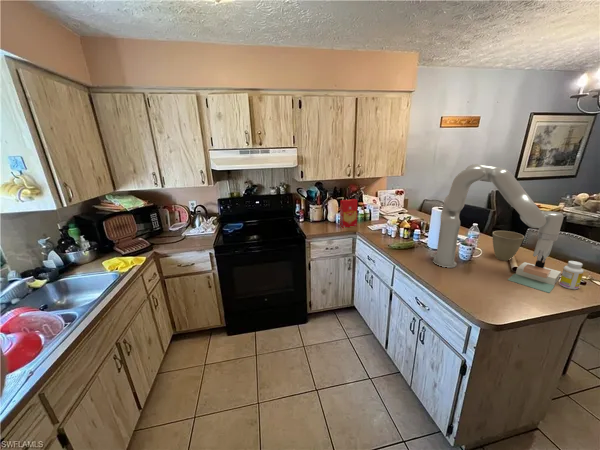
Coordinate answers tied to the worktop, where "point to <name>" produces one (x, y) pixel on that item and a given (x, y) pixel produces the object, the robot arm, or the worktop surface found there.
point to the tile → (536, 271)
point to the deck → (550, 279)
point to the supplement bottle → (571, 275)
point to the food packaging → (348, 213)
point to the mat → (531, 283)
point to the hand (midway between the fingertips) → (538, 268)
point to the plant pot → (506, 244)
